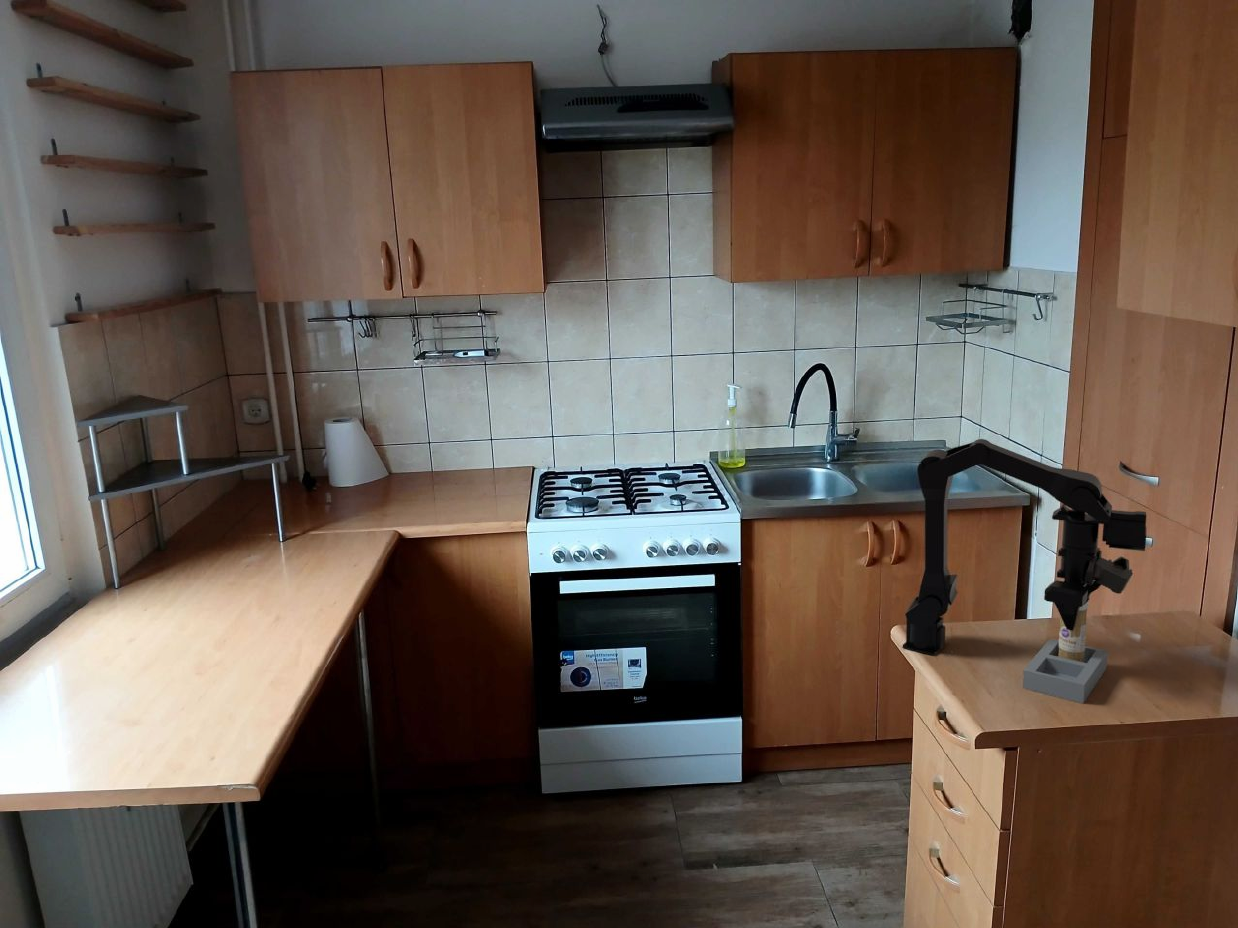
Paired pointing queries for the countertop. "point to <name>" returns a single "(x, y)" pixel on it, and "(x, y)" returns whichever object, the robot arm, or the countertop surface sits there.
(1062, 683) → the slot caddy
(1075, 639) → the sprinkles bottle
